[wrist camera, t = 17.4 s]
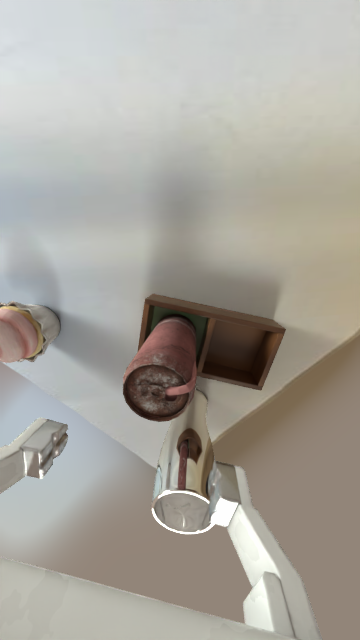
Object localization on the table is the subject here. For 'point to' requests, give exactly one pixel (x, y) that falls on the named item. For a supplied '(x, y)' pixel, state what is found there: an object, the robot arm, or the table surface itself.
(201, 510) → the beer glass
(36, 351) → the cupcake
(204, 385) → the table surface
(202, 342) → the tray
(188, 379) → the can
